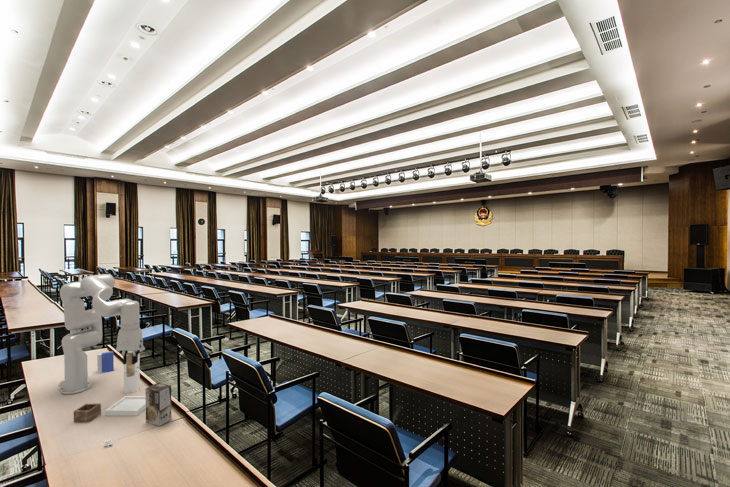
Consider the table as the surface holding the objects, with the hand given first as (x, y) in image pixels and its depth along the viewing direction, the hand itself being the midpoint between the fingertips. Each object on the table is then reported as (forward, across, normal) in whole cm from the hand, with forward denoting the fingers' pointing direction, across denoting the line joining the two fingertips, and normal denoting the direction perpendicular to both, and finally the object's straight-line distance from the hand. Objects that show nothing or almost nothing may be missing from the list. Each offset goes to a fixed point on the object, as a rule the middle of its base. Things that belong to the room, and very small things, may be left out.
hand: (130, 362), depth 166 cm
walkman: (+23, -43, +42) cm, 64 cm away
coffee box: (+23, +20, -11) cm, 32 cm away
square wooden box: (+23, -14, -9) cm, 28 cm away
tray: (+23, 0, 0) cm, 23 cm away
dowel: (+6, 0, 0) cm, 6 cm away
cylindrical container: (+23, -12, +19) cm, 32 cm away
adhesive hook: (+23, +11, -30) cm, 40 cm away
